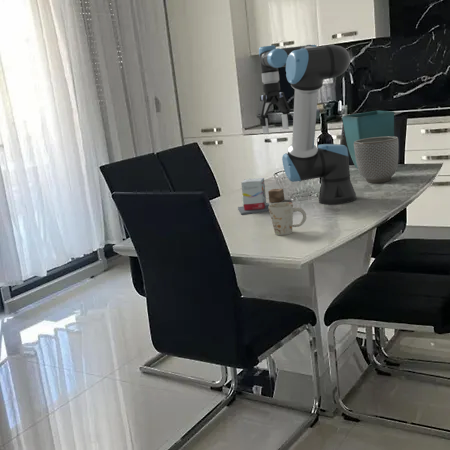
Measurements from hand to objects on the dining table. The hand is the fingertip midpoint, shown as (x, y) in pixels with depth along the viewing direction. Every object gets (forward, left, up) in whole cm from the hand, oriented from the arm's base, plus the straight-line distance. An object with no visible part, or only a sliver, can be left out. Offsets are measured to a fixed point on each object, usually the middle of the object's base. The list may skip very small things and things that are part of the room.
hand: (276, 131), depth 279 cm
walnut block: (-7, +12, -29) cm, 32 cm away
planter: (-28, -35, -29) cm, 53 cm away
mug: (-48, +52, -29) cm, 76 cm away
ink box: (-9, +27, -28) cm, 40 cm away
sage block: (0, +21, -29) cm, 36 cm away
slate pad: (-9, +28, -29) cm, 41 cm away
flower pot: (-6, -63, -29) cm, 70 cm away
